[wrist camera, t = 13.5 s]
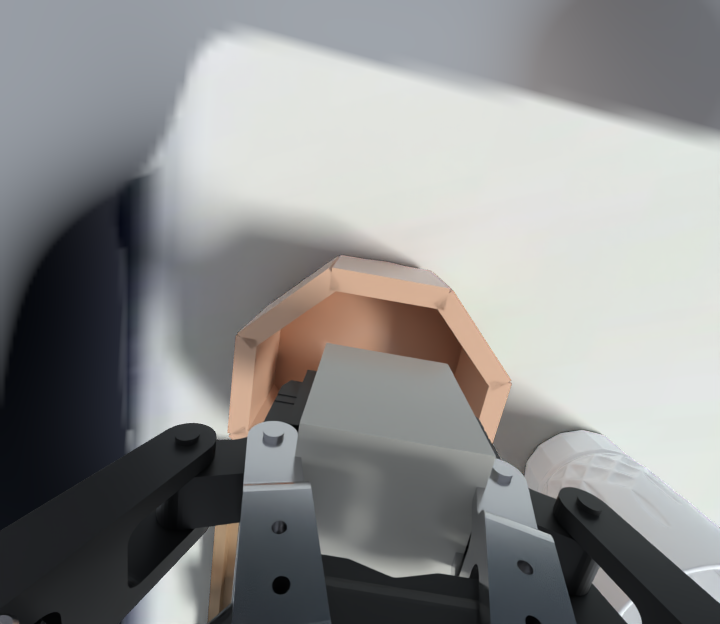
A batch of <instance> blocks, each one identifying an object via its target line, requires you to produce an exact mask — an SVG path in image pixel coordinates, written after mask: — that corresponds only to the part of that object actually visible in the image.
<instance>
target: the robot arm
mask: <svg viewBox="0 0 720 624" xmlns="http://www.w3.org/2000/svg"><path fill="white" fill-rule="evenodd" d="M316 373H317V371H313V370H307V373H306V375H305V378H304V380H303V382H299V381H294V380H290V381H289V382H287V383H286V384H284V385H282V387H281V389H280V390H279V392H278V395H277V396H276V398H275V401H274V402H273V404H272V406H271V408H270V410H269V412H268V414H267V416H266V418H265V420H264V422H262V423H259V424H257V425H255V426H254V427H252V428H251V429H250V430H249V432H248V436H247V437H244V438H240V439H234V440H216V433H215V431H214V430H213V429H212V428H211V427H209V426H206V425H203V424H198V423H187V424H181V425H177V426H174V427H172V428H169V429H168V430H166V431H164V432H163V433H161V434H159V435H158V436H156V437H154V438H153V439H151V440H149V441H148V442H146V443H144V444H143V445H141V446H139V447H138V448H136V449H134V450H133V451H131V452H130V453H128V454H126V455H125V456H123V457H121V458H120V459H118V460H116V461H115V462H113V463H112V464H110V465H108V466H106V467H105V468H103V469H101V470H100V471H98V472H97V473H95V474H93V475H92V476H90V477H89V478H87V479H85V480H83V481H82V482H80V483H78V484H77V485H75V486H73V487H72V488H70V489H69V490H67V491H65V492H64V493H62V494H60V495H59V496H57V497H55V498H54V499H52V500H50V501H49V502H47V503H45V504H44V505H42V506H41V507H39V508H37V509H36V510H34V511H32V512H31V513H29V514H27V515H26V516H24V517H22V518H21V519H19V520H17V521H16V522H14V523H13V524H11V525H9V526H7V527H6V528H4V529H3V530H1V531H0V624H118V623H120V621H121V620H122V619H123V618H124V617H125V616H126V615H127V614H128V613H129V612H130V611H131V610H132V609H133V608H134V607H135V606H136V605H137V604H138V603H139V601H140V600H141V599H142V598H143V597H144V596H145V595H146V594H147V593H148V592H149V591H150V590H151V589H152V588H153V587H154V586H155V585H156V584H157V583H158V582H159V580H160V579H161V578H162V577H163V576H164V575H165V574H166V573H167V572H168V571H169V570H170V569H171V568H172V567H173V566H174V565H175V564H176V563H177V562H178V560H179V559H180V558H181V557H182V556H183V555H184V554H185V553H186V552H187V551H188V550H189V549H190V548H191V547H192V546H193V545H194V544H195V543H196V542H197V540H198V539H199V538H200V537H201V536H202V535H203V534H204V533H205V532H206V530H207V529H208V527H209V526H217V525H225V524H232V523H239V525H238V536H237V547H236V558H235V569H234V580H233V590H232V600H231V603H230V604H229V605H228V606H227V607H226V608H225V609H223V610H222V611H221V612H220V613H219V614H218V615H216V616H215V617H214V618H213V619H212V620H211V621H210V622H208V623H207V624H627V622H626V621H625V620H624V619H623V618H622V617H621V616H620V614H619V613H618V612H617V611H616V610H615V609H614V608H613V606H612V605H611V604H610V603H609V602H608V601H607V600H606V598H605V597H604V596H603V595H602V594H601V593H600V592H599V590H598V589H597V588H596V587H595V586H594V585H593V584H592V582H593V580H594V578H595V576H596V574H597V572H598V570H599V567H601V568H602V569H603V571H604V572H605V573H606V574H607V575H608V576H609V577H610V578H611V579H612V580H613V581H614V582H615V583H616V584H617V586H618V587H619V588H620V589H621V590H622V591H623V592H624V593H625V594H626V595H627V596H628V597H629V598H630V600H631V601H632V602H633V603H634V605H635V606H636V608H637V610H638V612H639V614H640V617H641V620H642V624H720V603H719V602H718V601H716V600H715V599H714V598H713V597H712V596H711V595H710V594H708V593H707V592H706V591H705V590H704V589H703V588H702V587H700V586H699V585H698V584H697V583H696V582H695V581H694V580H692V579H691V578H690V577H689V576H688V575H687V574H686V573H684V572H683V571H682V570H681V569H680V568H679V567H678V566H676V565H675V564H674V563H673V562H672V561H671V560H670V559H668V558H667V557H666V556H665V555H664V554H663V553H662V552H660V551H659V550H658V549H657V548H656V547H655V546H654V545H653V544H651V543H650V542H649V541H648V540H647V539H646V538H645V537H643V536H642V535H641V534H640V533H639V532H638V531H637V530H635V529H634V528H633V527H632V526H631V525H630V524H629V523H627V522H626V521H625V520H624V519H623V518H622V517H621V516H619V515H618V514H617V513H616V512H615V511H614V510H613V509H611V508H610V507H609V506H608V505H607V504H606V503H604V502H603V501H602V500H600V499H599V498H597V497H596V496H594V495H592V494H590V493H589V492H586V491H584V490H581V489H578V488H574V487H564V488H562V489H561V490H560V491H559V494H558V496H557V499H555V498H552V497H550V496H547V495H545V494H542V493H539V492H537V491H534V490H532V489H530V488H528V484H527V481H526V479H525V477H524V476H523V474H522V473H521V472H520V471H519V470H518V469H516V468H515V467H514V466H512V465H511V464H509V463H507V462H505V461H503V460H501V459H500V458H499V456H498V454H497V452H496V450H495V448H494V446H493V444H492V443H491V441H490V439H488V435H487V433H486V431H484V427H483V426H482V424H481V422H480V420H479V419H478V418H477V417H476V416H475V417H476V419H477V421H478V423H479V425H480V427H481V428H482V430H483V432H484V434H485V436H486V438H487V440H488V442H489V444H490V446H491V448H492V450H493V451H494V453H495V455H496V458H495V461H494V464H493V467H492V470H491V473H490V476H489V479H488V482H487V485H486V488H482V487H476V490H475V493H474V496H473V500H472V531H471V534H470V537H469V540H468V543H467V546H466V549H465V552H464V553H459V552H456V553H455V556H454V559H453V562H452V565H451V575H447V574H441V573H435V574H426V575H417V576H408V577H399V578H396V577H391V576H388V575H386V574H384V573H381V572H379V571H377V570H374V569H372V568H370V567H367V566H365V565H362V564H360V563H358V562H355V561H353V560H351V559H348V558H342V557H336V556H330V555H324V554H321V550H320V543H319V536H318V529H317V523H316V516H315V509H314V502H313V495H312V489H311V484H310V481H304V475H303V467H302V459H301V457H296V456H295V452H296V445H297V438H298V431H299V424H300V421H301V418H302V415H303V412H304V409H305V406H306V403H307V400H308V397H309V394H310V391H311V388H312V385H313V382H314V379H315V376H316Z"/></svg>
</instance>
